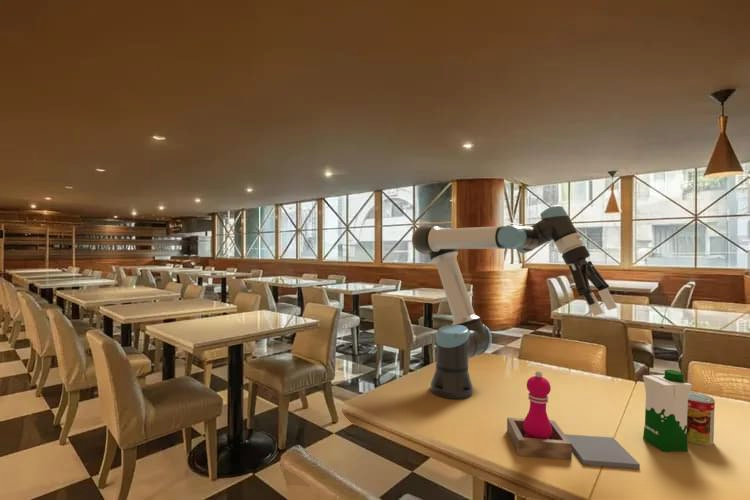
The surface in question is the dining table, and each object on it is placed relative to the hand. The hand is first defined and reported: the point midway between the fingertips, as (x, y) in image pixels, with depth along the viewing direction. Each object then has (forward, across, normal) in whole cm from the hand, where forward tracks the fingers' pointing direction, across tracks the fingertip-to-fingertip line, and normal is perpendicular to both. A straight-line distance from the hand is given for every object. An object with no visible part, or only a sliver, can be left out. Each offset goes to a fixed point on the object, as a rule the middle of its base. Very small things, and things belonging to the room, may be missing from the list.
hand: (606, 311), depth 118 cm
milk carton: (+38, -3, +2) cm, 38 cm away
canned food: (+40, +8, -2) cm, 41 cm away
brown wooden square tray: (+26, -30, +23) cm, 45 cm away
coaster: (+32, -22, +12) cm, 40 cm away
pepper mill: (+26, -30, +23) cm, 46 cm away
